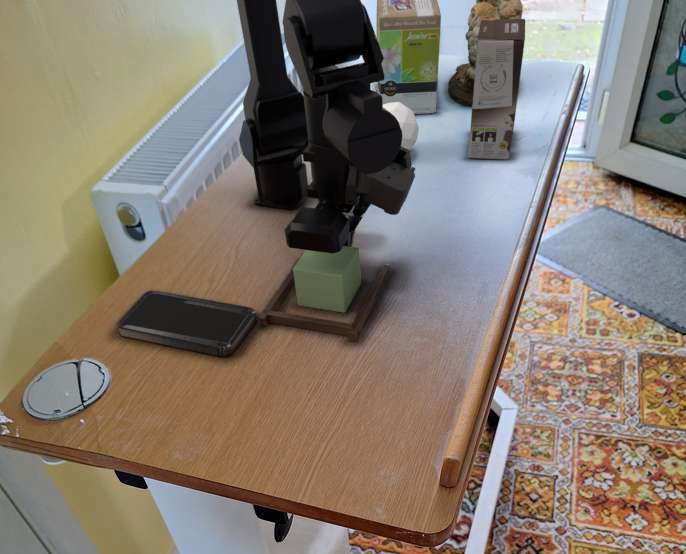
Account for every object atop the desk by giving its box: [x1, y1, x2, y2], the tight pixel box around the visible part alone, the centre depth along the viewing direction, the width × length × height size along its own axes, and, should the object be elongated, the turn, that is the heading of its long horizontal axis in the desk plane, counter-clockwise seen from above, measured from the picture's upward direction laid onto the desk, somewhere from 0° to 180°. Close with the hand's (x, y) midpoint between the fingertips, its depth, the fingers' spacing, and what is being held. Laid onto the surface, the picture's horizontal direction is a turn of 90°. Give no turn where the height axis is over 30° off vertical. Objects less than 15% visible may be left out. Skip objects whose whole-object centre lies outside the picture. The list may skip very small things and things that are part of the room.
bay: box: [258, 252, 391, 342], centre depth 80 cm, size 12×14×1 cm
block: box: [292, 246, 362, 314], centre depth 79 cm, size 6×6×5 cm
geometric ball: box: [383, 102, 420, 151], centre depth 101 cm, size 8×8×8 cm
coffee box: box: [467, 18, 526, 160], centre depth 98 cm, size 9×6×16 cm
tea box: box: [376, 0, 442, 115], centre depth 113 cm, size 15×10×15 cm
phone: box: [116, 289, 258, 357], centre depth 78 cm, size 8×1×15 cm
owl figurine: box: [447, 0, 524, 107], centre depth 113 cm, size 18×12×17 cm, turn 170°
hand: (343, 263), depth 83 cm, fingers closed
